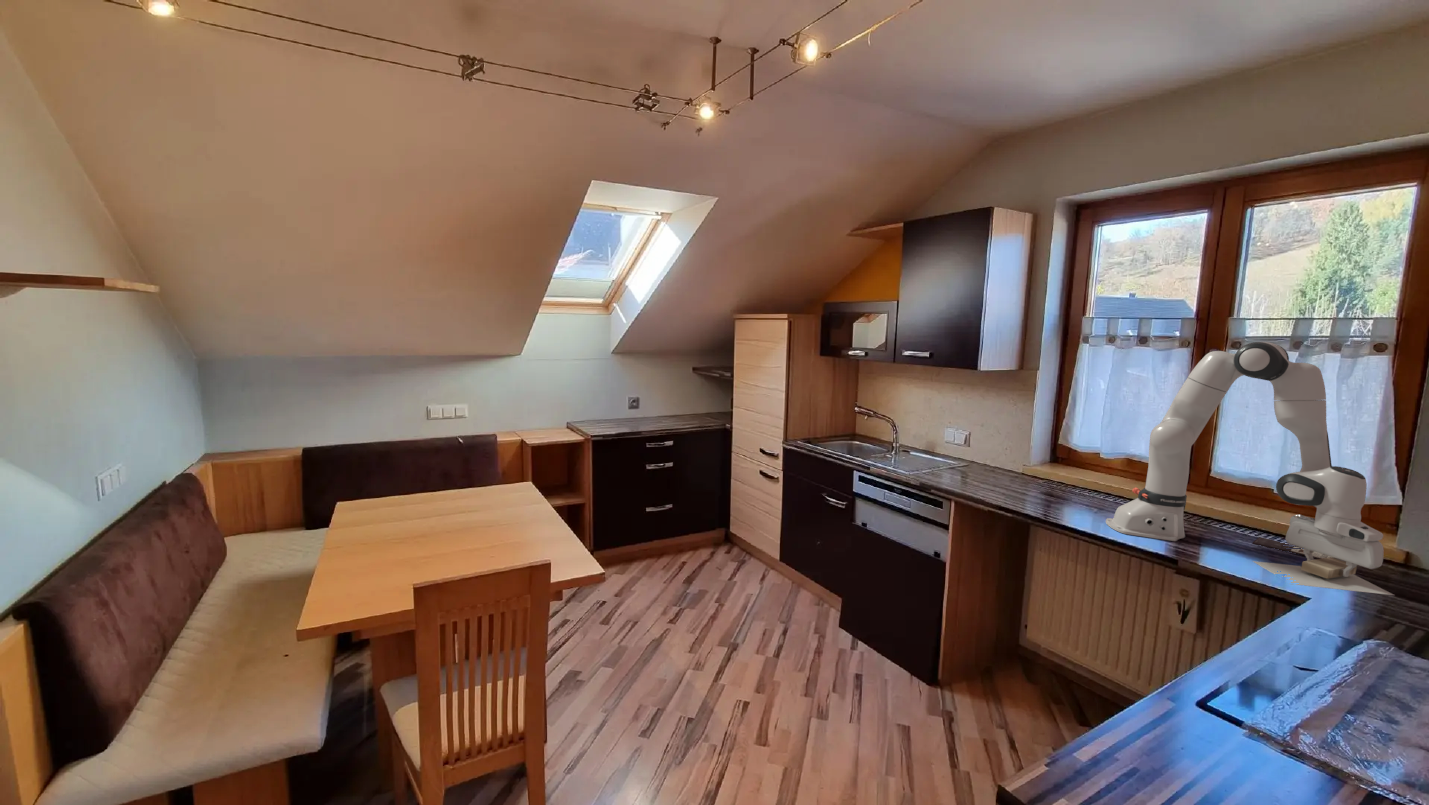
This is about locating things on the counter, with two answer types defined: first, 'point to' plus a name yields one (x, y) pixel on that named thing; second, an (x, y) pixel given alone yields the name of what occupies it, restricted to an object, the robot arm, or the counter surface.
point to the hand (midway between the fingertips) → (1327, 570)
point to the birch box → (1326, 567)
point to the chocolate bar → (1278, 545)
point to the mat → (1322, 579)
